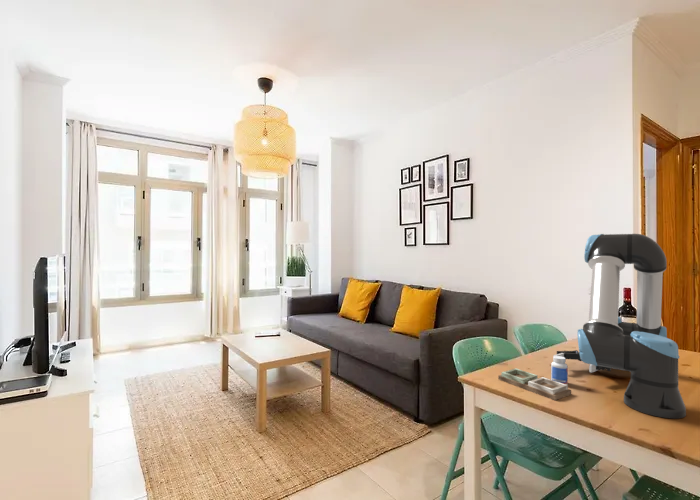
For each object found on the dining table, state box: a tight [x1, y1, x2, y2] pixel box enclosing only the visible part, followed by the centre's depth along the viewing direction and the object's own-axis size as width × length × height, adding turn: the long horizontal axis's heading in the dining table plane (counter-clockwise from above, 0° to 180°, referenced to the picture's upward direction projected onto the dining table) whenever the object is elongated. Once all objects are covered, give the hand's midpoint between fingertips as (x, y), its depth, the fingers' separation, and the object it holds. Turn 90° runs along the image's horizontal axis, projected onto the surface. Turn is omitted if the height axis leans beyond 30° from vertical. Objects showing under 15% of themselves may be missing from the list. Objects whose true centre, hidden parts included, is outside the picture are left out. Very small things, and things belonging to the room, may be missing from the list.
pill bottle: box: [550, 356, 569, 385], centre depth 135 cm, size 6×5×10 cm
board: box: [497, 368, 572, 401], centre depth 131 cm, size 22×10×3 cm, turn 31°
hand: (571, 363), depth 139 cm, fingers open, 13 cm apart
